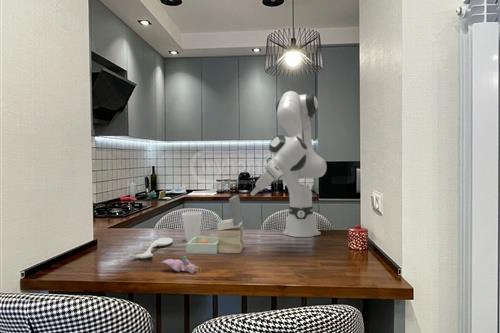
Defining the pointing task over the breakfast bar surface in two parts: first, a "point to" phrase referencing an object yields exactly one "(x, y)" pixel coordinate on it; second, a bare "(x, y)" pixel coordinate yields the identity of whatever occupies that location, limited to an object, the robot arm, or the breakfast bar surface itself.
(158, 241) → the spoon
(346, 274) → the breakfast bar surface
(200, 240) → the ball
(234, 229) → the stand
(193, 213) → the foam cup
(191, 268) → the rabbit figure
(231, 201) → the lever flap
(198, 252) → the tray
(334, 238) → the breakfast bar surface
